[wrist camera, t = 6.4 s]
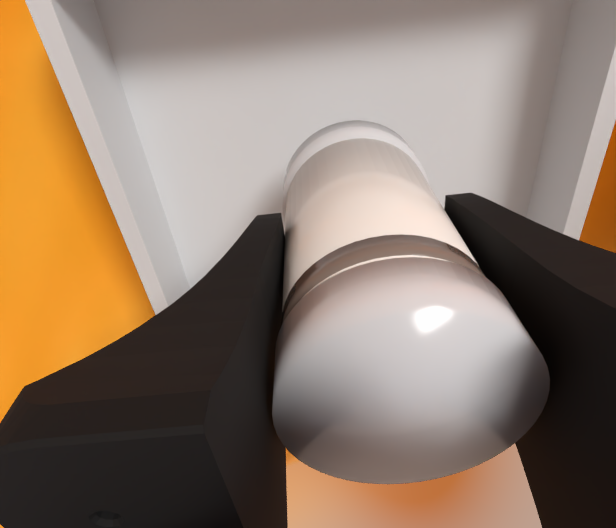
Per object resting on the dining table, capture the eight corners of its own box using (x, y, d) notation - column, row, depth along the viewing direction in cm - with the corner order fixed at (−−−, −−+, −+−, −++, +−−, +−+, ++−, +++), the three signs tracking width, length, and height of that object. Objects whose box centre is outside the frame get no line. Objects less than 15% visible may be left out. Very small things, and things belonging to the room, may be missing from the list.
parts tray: (607, -109, 12) (691, -130, 9) (520, 277, 19) (553, 322, 17) (66, -38, 12) (9, -39, 10) (188, 308, 20) (173, 357, 17)
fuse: (423, 112, 12) (583, 295, 5) (416, 239, 14) (521, 474, 8) (273, 129, 12) (248, 328, 5) (292, 252, 14) (290, 492, 8)
